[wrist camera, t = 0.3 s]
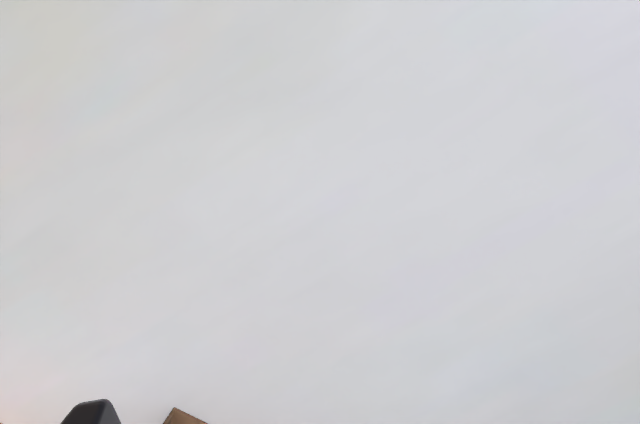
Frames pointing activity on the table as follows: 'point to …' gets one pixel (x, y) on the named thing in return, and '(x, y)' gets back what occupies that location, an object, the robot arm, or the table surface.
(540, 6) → the table surface
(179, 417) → the brown boxy piece
